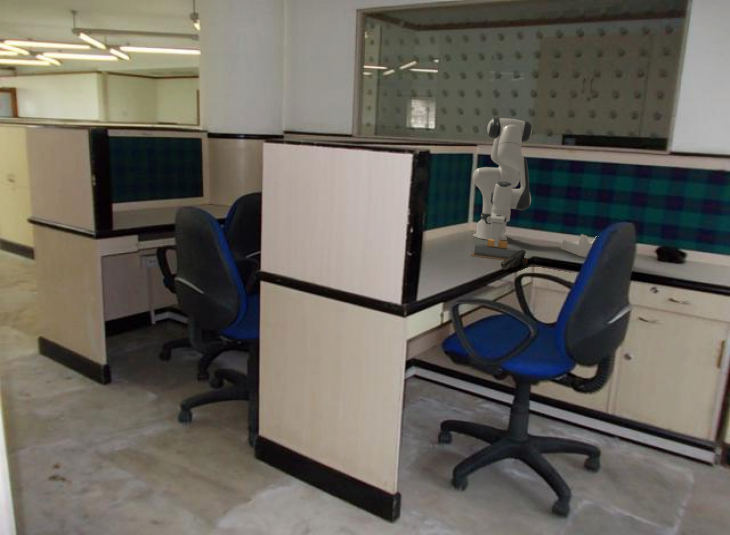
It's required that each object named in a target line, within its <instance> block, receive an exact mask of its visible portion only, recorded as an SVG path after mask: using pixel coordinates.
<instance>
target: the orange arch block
mask: <svg viewBox="0 0 730 535" xmlns="http://www.w3.org/2000/svg"><path fill="white" fill-rule="evenodd" d="M508 243H509V242H508V240H499V246H498V247H499V248H503V249H506V248H507V247H508ZM486 245H487V246H488V247H496V246H494V245H495V241H494V240H493V239H488V240H487V242H486Z"/></svg>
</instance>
